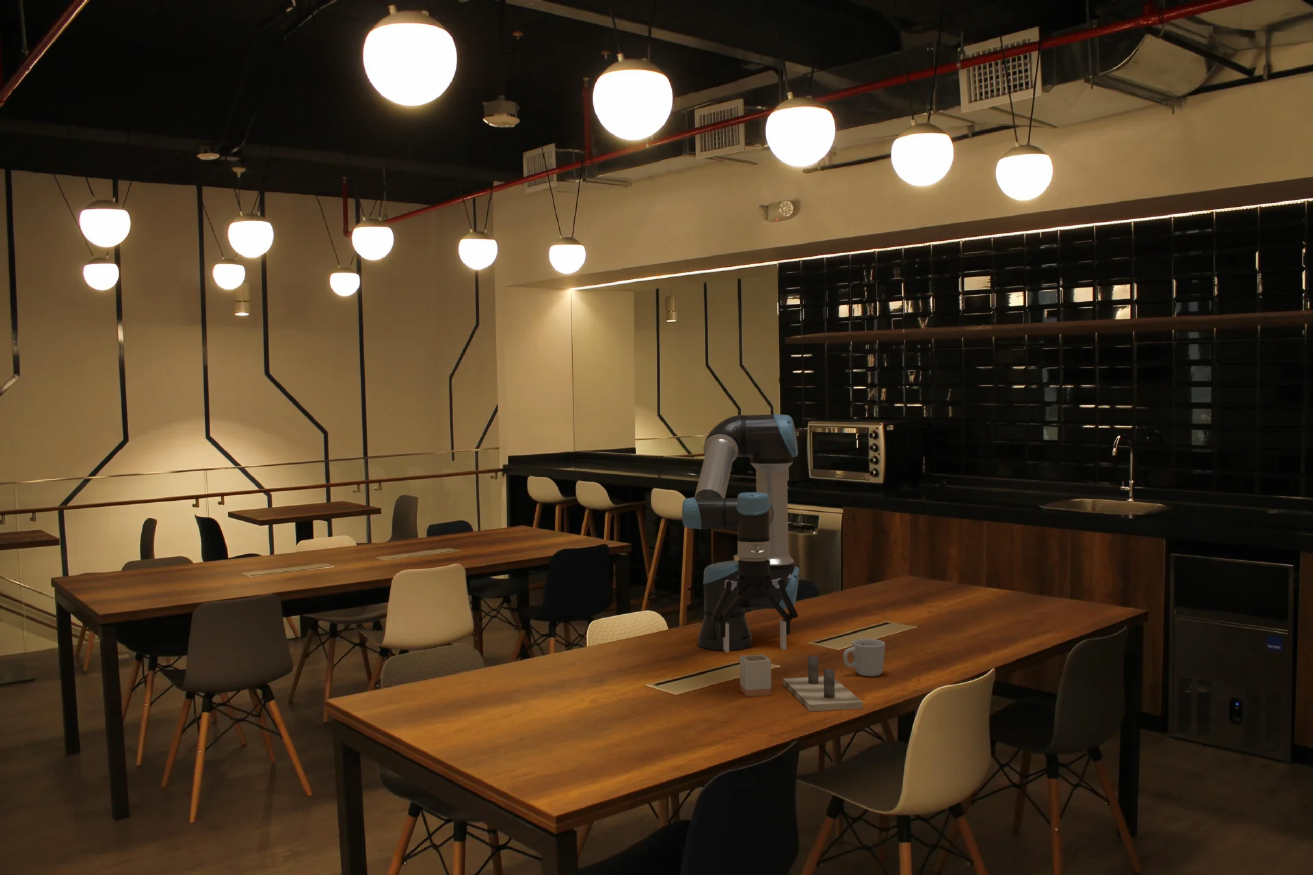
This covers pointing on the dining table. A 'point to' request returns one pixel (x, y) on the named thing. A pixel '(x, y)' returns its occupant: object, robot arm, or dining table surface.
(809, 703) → the pin board
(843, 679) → the dining table surface
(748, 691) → the sleeve
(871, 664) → the cup
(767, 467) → the robot arm
